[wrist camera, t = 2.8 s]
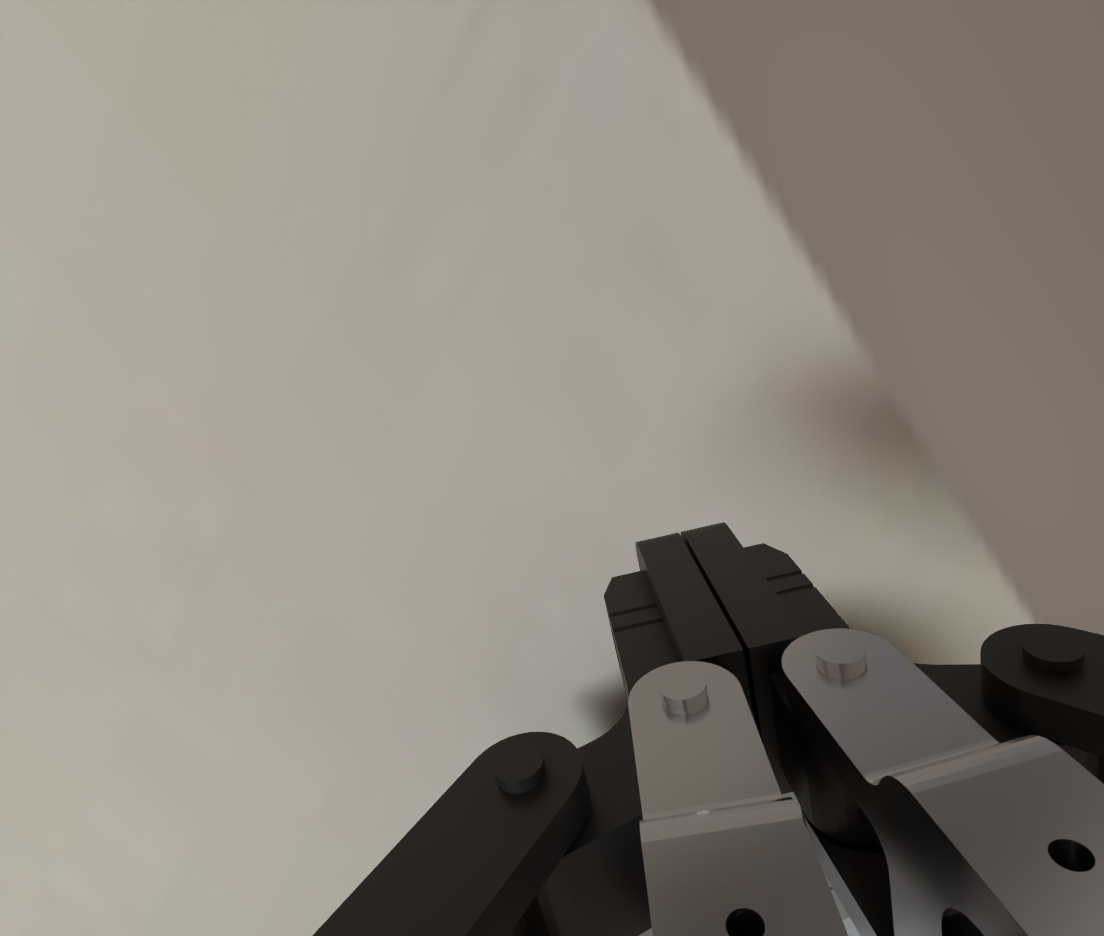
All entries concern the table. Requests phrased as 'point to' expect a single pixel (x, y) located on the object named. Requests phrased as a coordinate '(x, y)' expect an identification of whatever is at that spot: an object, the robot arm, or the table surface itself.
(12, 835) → the table surface
